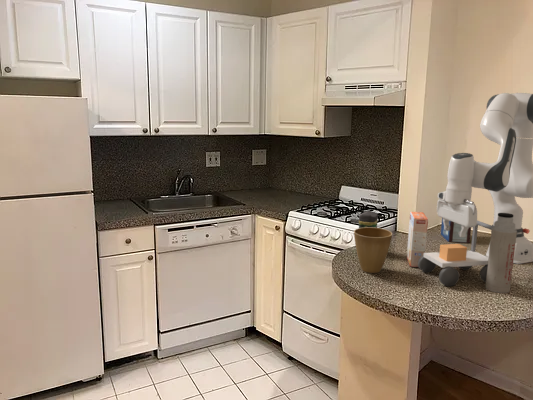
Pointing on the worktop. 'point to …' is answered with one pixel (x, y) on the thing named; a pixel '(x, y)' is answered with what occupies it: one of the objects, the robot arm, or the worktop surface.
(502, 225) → the thermos bottle
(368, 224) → the coffee jar
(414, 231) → the cracker box
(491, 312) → the worktop surface
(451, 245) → the block
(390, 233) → the plant pot
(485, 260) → the cart
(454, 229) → the protein box
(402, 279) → the worktop surface
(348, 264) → the worktop surface
